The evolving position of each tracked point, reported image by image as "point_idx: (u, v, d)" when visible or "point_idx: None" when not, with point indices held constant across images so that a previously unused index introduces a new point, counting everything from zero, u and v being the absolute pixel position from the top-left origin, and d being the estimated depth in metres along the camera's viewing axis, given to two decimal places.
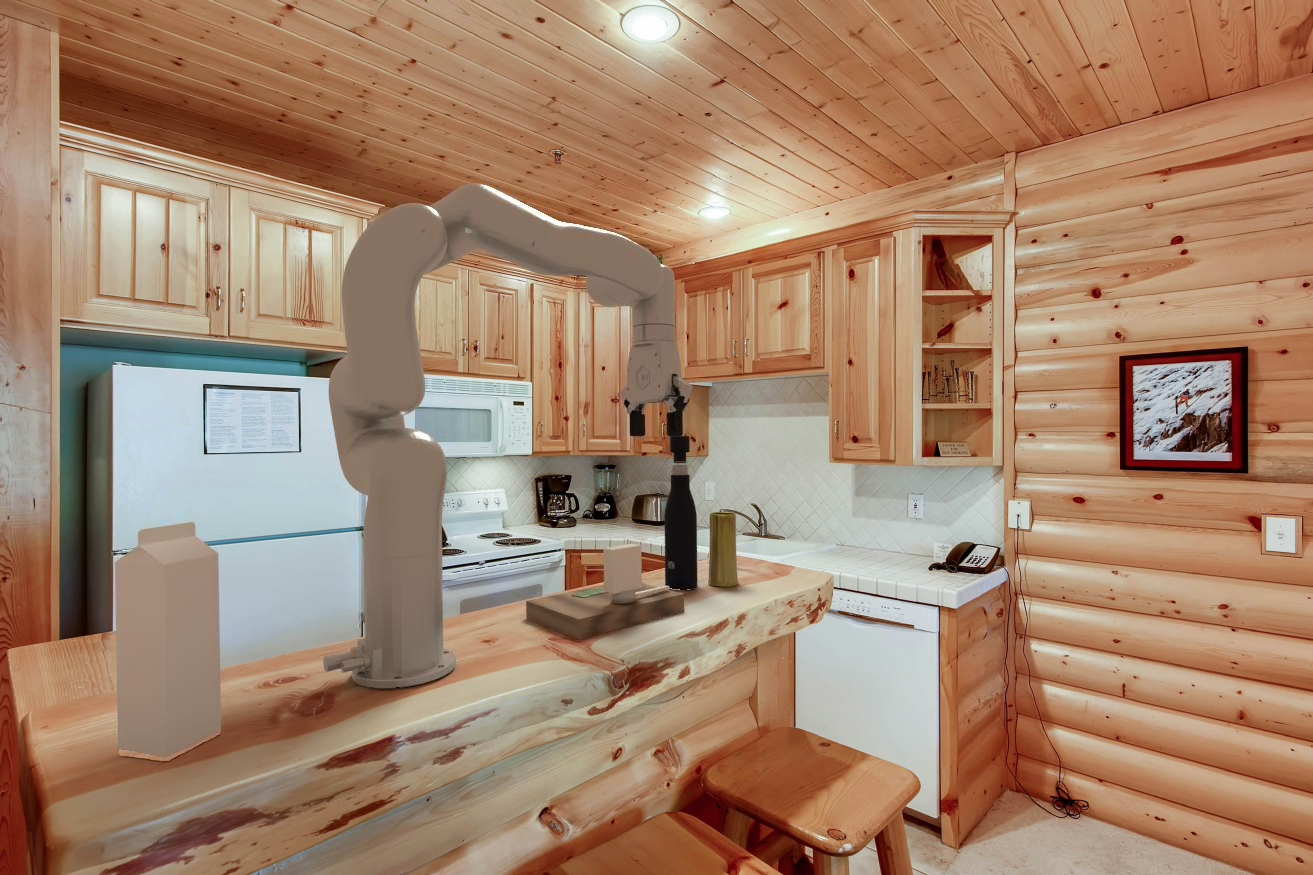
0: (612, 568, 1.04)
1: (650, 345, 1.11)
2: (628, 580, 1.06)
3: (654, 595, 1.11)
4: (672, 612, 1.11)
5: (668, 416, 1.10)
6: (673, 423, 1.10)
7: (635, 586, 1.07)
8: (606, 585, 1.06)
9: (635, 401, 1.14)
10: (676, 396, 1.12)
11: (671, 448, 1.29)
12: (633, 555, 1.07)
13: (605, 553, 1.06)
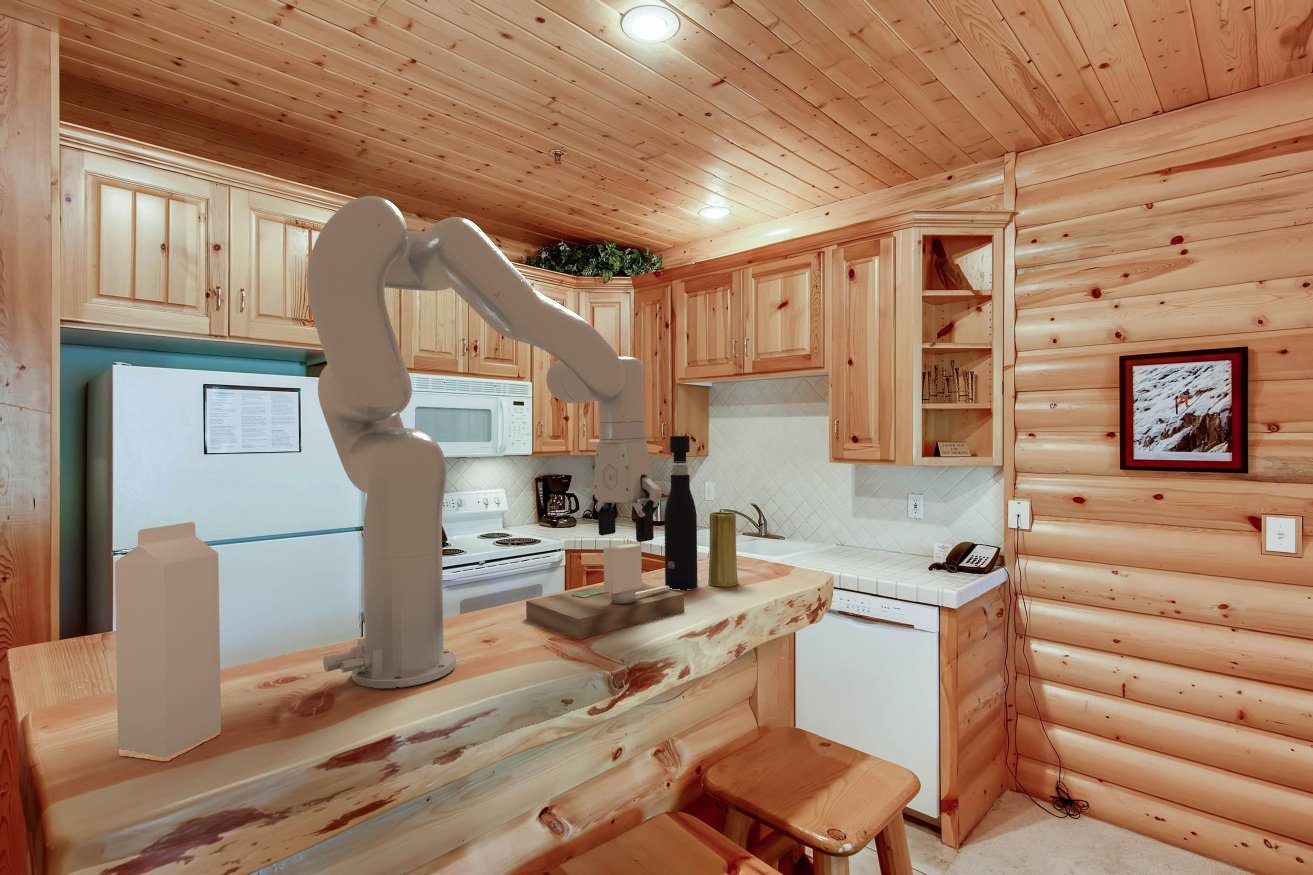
0: (612, 568, 1.04)
1: (617, 444, 1.04)
2: (628, 580, 1.06)
3: (654, 595, 1.11)
4: (672, 612, 1.11)
5: (637, 521, 1.03)
6: (642, 528, 1.03)
7: (635, 586, 1.07)
8: (606, 585, 1.06)
9: (603, 501, 1.07)
10: (646, 497, 1.05)
11: (671, 448, 1.29)
12: (633, 555, 1.07)
13: (605, 553, 1.06)
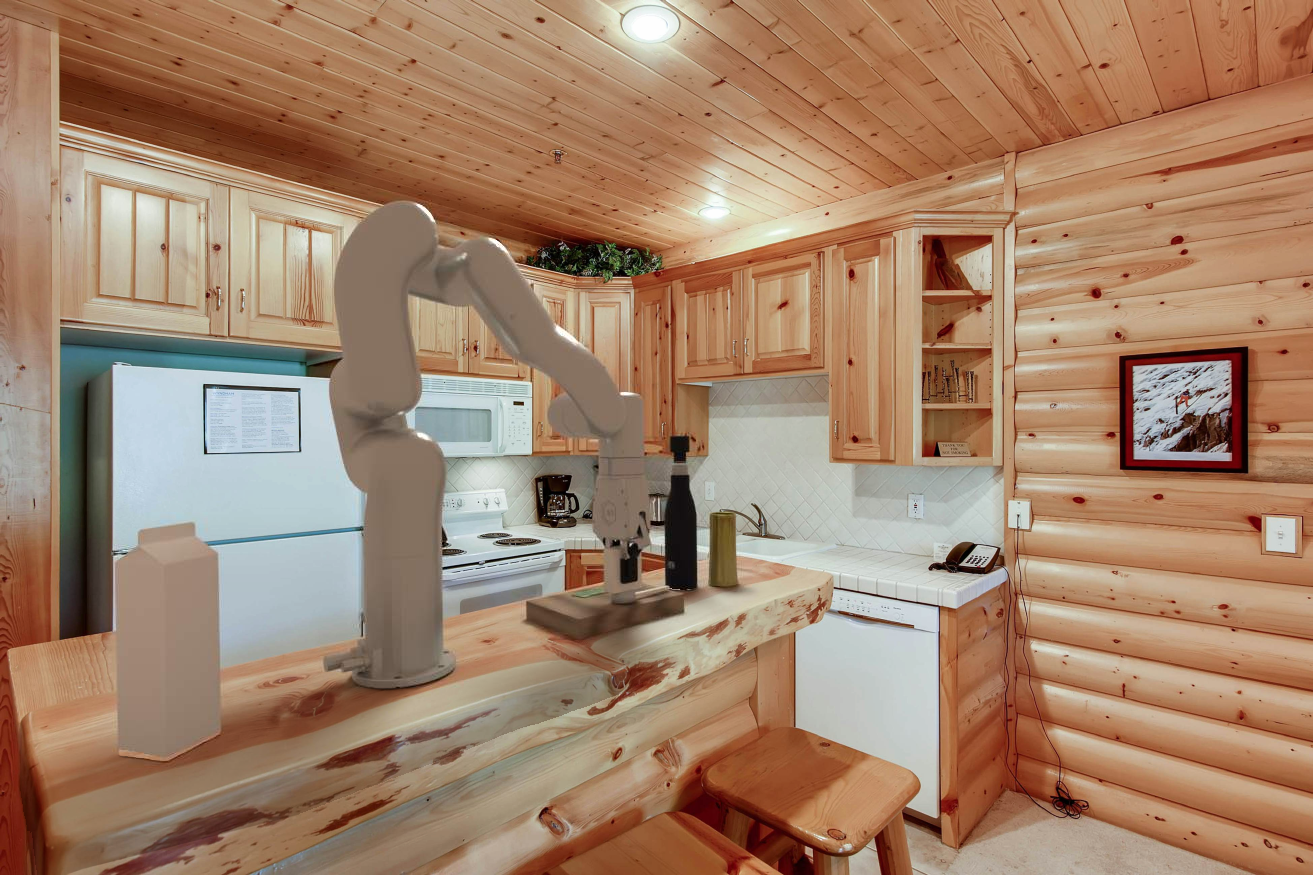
0: (612, 568, 1.04)
1: (616, 480, 1.04)
2: None
3: (654, 595, 1.11)
4: (672, 612, 1.11)
5: (622, 563, 1.05)
6: (627, 570, 1.05)
7: (635, 586, 1.07)
8: (606, 585, 1.06)
9: (601, 536, 1.07)
10: None
11: (671, 448, 1.29)
12: None
13: (605, 553, 1.06)
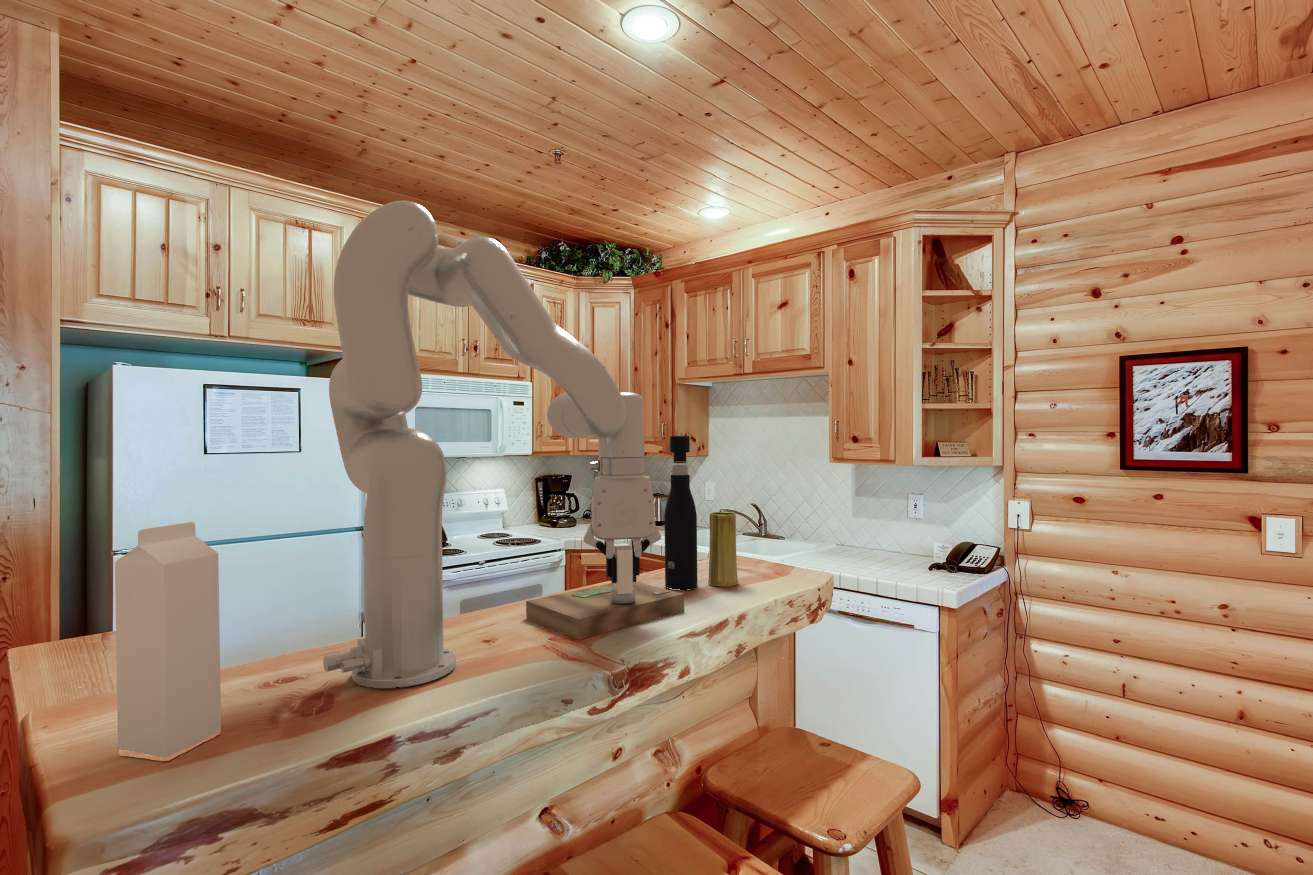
0: (632, 567, 1.04)
1: (636, 479, 1.05)
2: None
3: (654, 595, 1.11)
4: (672, 612, 1.11)
5: (635, 561, 1.06)
6: (636, 568, 1.07)
7: None
8: (621, 587, 1.04)
9: (611, 538, 1.04)
10: None
11: (671, 448, 1.29)
12: None
13: (620, 555, 1.04)
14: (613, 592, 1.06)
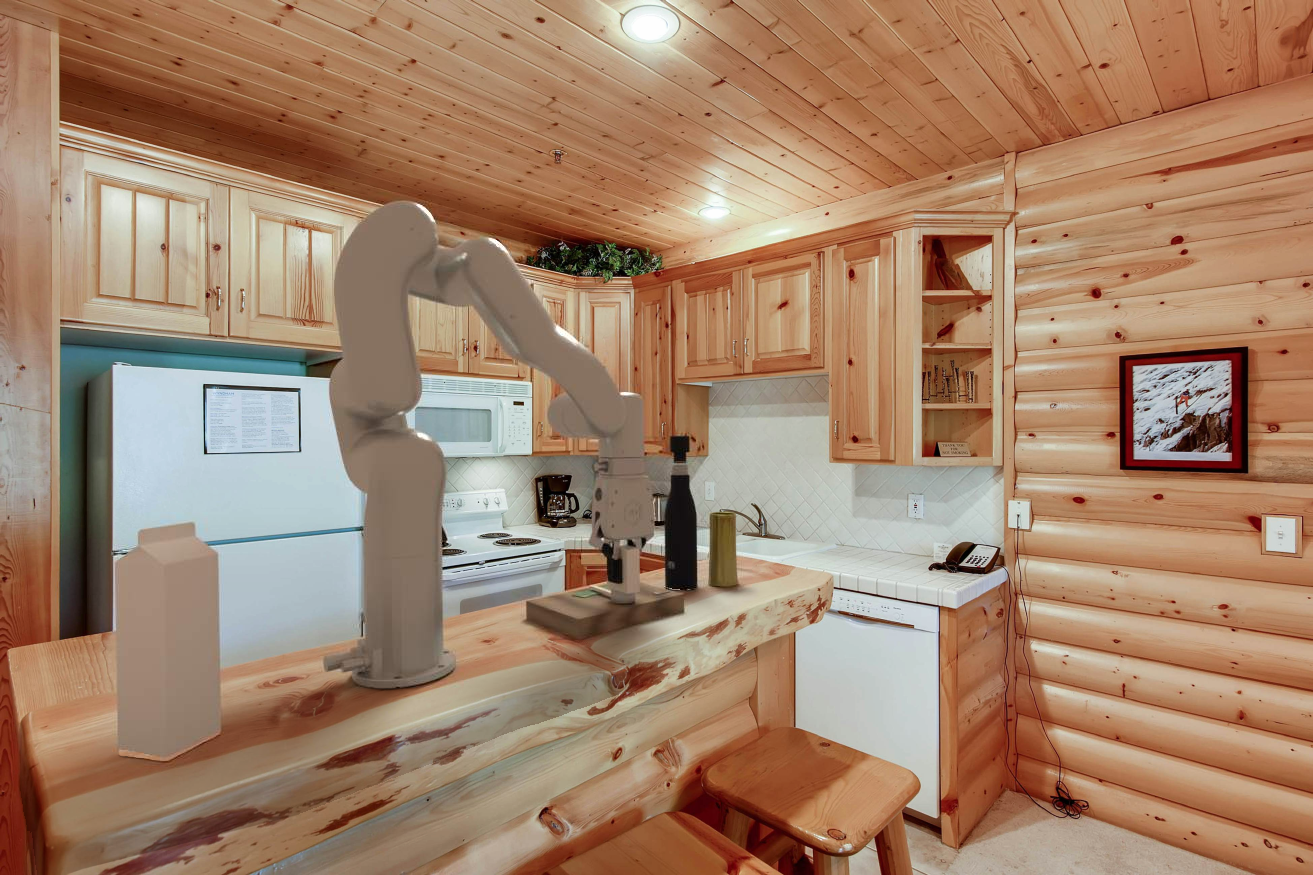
0: (639, 566, 1.05)
1: (640, 478, 1.06)
2: None
3: (654, 595, 1.11)
4: (672, 612, 1.11)
5: None
6: None
7: None
8: (630, 586, 1.04)
9: (622, 539, 1.04)
10: None
11: (671, 448, 1.29)
12: None
13: (629, 554, 1.04)
14: (618, 593, 1.05)
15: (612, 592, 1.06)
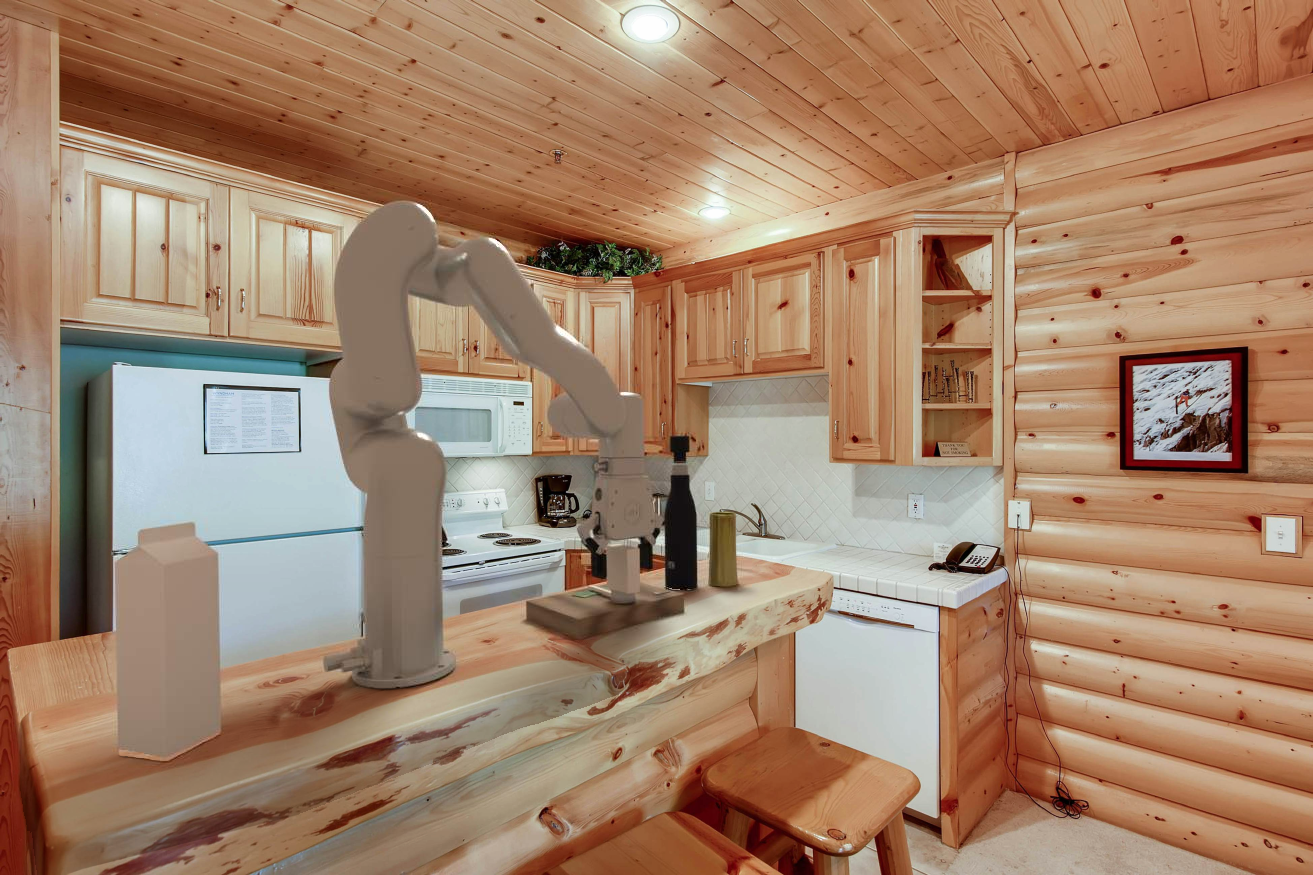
0: (639, 566, 1.06)
1: (640, 478, 1.06)
2: None
3: (654, 595, 1.11)
4: (672, 612, 1.11)
5: (651, 550, 1.09)
6: None
7: None
8: (630, 586, 1.04)
9: (622, 539, 1.04)
10: None
11: (671, 448, 1.29)
12: None
13: (630, 554, 1.04)
14: (618, 593, 1.05)
15: (612, 592, 1.06)
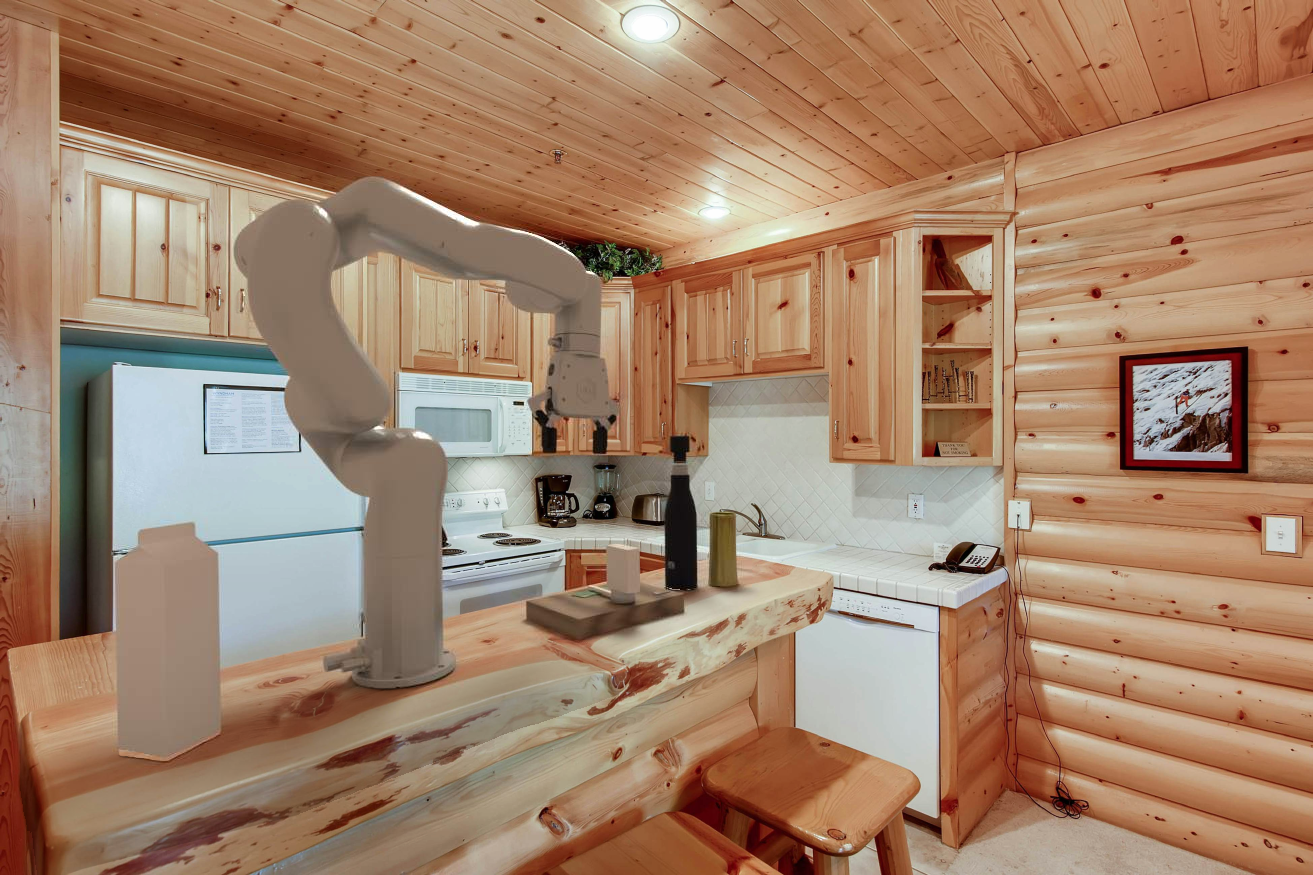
0: (639, 566, 1.06)
1: (595, 358, 1.06)
2: None
3: (654, 595, 1.11)
4: (672, 612, 1.11)
5: (606, 434, 1.09)
6: None
7: None
8: (630, 586, 1.04)
9: (573, 414, 1.03)
10: None
11: (671, 448, 1.29)
12: None
13: (630, 554, 1.04)
14: (618, 593, 1.05)
15: (612, 592, 1.06)
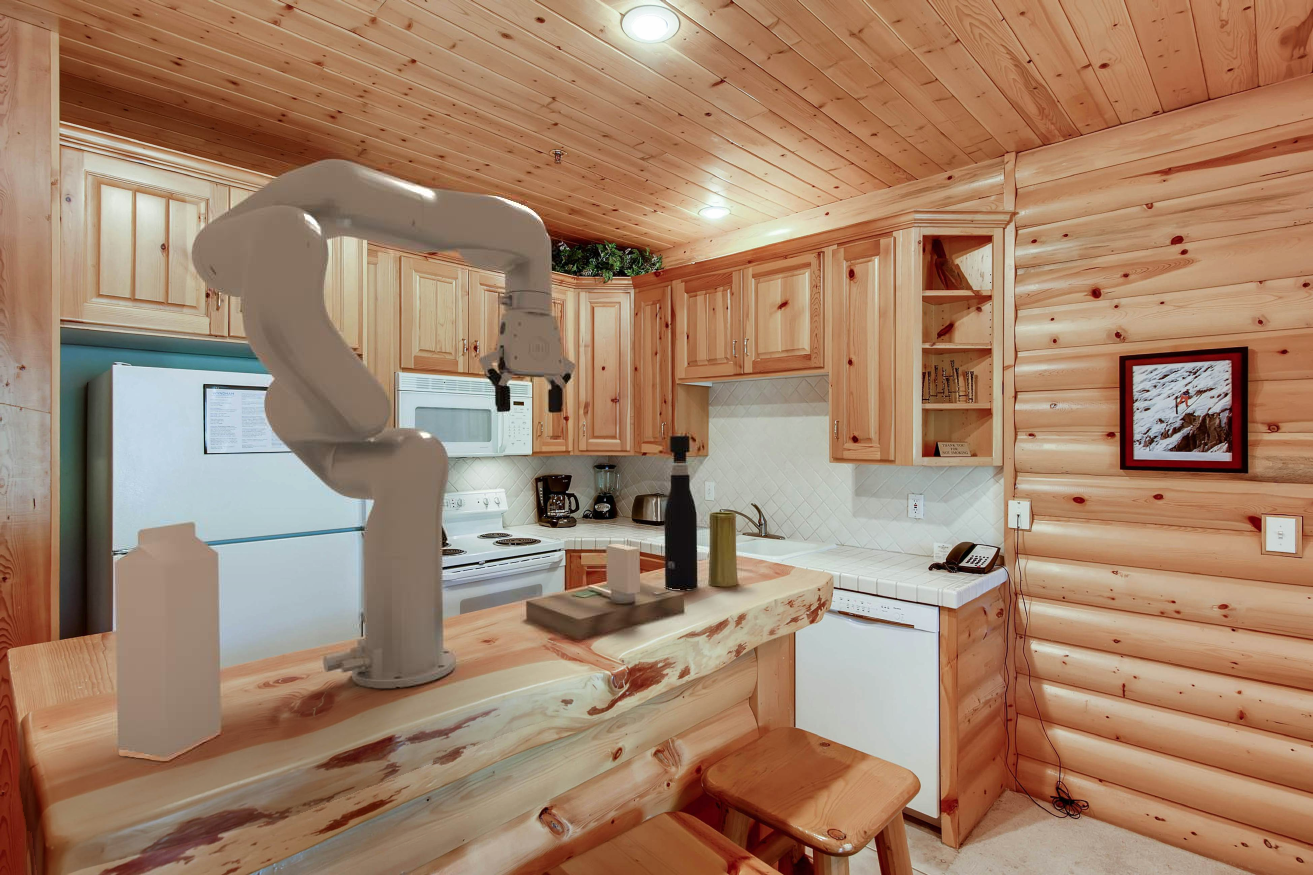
0: (639, 566, 1.06)
1: (547, 316, 1.06)
2: None
3: (654, 595, 1.11)
4: (672, 612, 1.11)
5: (560, 392, 1.09)
6: None
7: None
8: (630, 586, 1.04)
9: (526, 372, 1.04)
10: None
11: (671, 448, 1.29)
12: None
13: (630, 554, 1.04)
14: (618, 593, 1.05)
15: (612, 592, 1.06)
